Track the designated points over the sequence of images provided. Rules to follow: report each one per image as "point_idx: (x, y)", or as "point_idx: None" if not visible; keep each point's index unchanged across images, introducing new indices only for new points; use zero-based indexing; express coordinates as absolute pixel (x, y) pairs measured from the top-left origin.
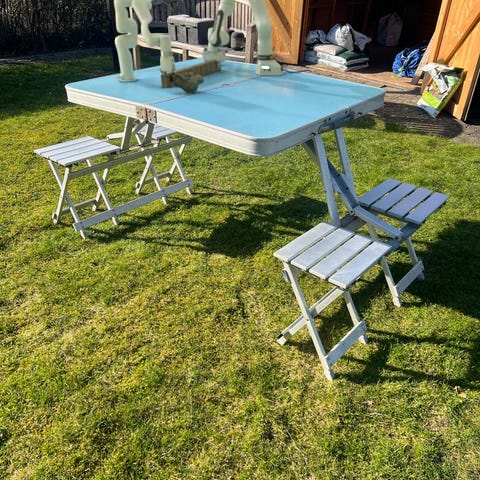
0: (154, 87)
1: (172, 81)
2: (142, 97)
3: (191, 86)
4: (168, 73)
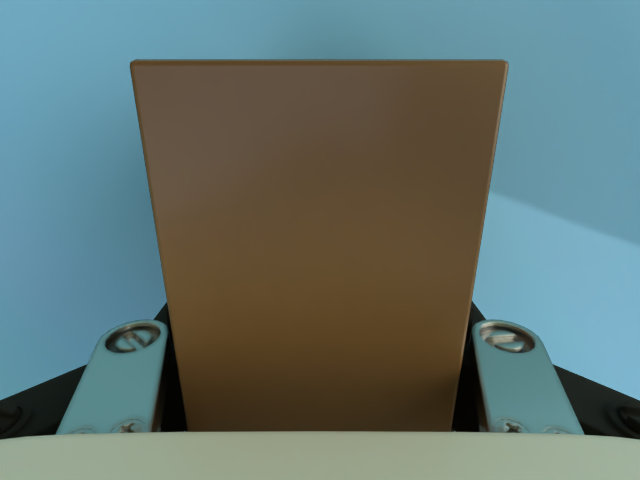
0: (554, 9)
1: None
2: None
3: None
4: None
